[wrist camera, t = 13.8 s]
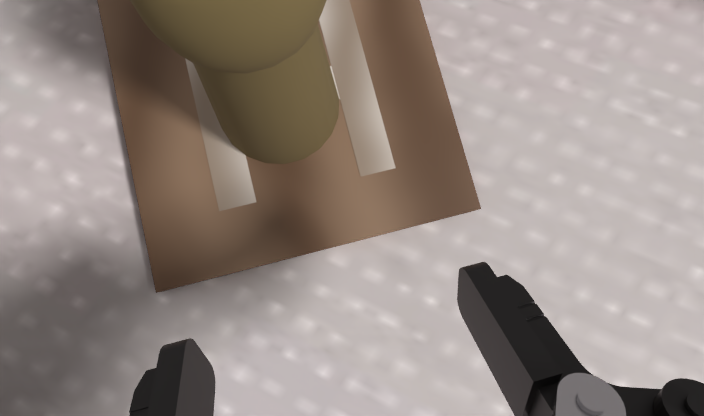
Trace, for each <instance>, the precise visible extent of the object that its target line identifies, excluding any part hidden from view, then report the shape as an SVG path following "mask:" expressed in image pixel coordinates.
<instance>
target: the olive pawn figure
mask: <svg viewBox="0 0 704 416" xmlns="http://www.w3.org/2000/svg"><path fill="white" fill-rule="evenodd" d="M326 1H327V0H130V2H131V3H132V5H133V6H134V8H135V9H136V11H137V12H138V14H139V15H140V17H141V18H142V20H143V21H144V23H145V24H146V25H147V26H148V28H149V29H150V30H151V31H152V32H153V33H154V35H155V36H156V37H157V38H158V39H160V40H161V41H162V42H164V43H165V44H166V45H167V46H169V47H170V48H171V49H173V50H174V51H175V52H176V53H178V54H179V55H180V56H182V57H184V58H185V59H187V60H189V61H191V62H192V63H193V64H194V66H195V69H196V71H197V73H198V75H199V78H200V80H201V82H202V85H203V87H204V89H205V91H206V94H207V96H208V98H209V100H210V103H211V105H212V107H213V110H214V112H215V114H216V116H217V119H218V121H219V123H220V126H221V128H222V130H223V131H224V133H225V134H226V136H227V137H228V139H229V140H230V142H231V143H232V145H233V146H235V147H236V148H237V149H239V150H240V151H241V152H242V153H244V154H245V155H246V156H248V157H250V158H253V159H256V160H258V161H261V162H264V163H274V164H287V163H291V162H295V161H298V160H302V159H305V158H306V157H308V156H309V155H311V154H312V153H314V152H316V151H317V150H319V149H320V148H321V147H322V146H323V144H324V143H325V142H326V141H327V140H328V138H329V137H330V136H331V135H332V133H333V130H334V127H335V125H336V122H337V119H338V116H339V97H338V93H337V90H336V86H335V83H334V79H333V76H332V72H331V69H330V65H329V62H328V58H327V55H326V51H325V48H324V44H323V41H322V37H321V34H320V30H319V27H318V21H319V19H320V16H321V14H322V11H323V8H324V6H325V3H326Z"/></svg>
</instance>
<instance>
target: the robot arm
mask: <svg viewBox="0 0 704 416" xmlns="http://www.w3.org/2000/svg"><path fill="white" fill-rule="evenodd" d="M457 300H458V306H459V309H460V312H461V315H462V317H463V319H464V321H465V323H466V325H467V327H468V329H469V331H470V332H471V334H472V336H473V338H474V340H475V342H476V344H477V346H478V348H479V349H480V351H481V353H482V355H483V357H484V359H485V361H486V363H487V364H488V366H489V368H490V370H491V372H492V374H493V376H494V378H495V379H496V381H497V383H498V385H499V387H500V389H501V391H502V393H503V394H504V396H505V398H506V400H507V402H508V404H509V406H510V408H511V410H512V411H513V413H514V415H515V416H704V384H703V383H701V382H698V381H695V380H690V379H674V380H671V381H669V382H668V383H666V384H665V386H664V387H663V388H662V389H647V388H631V387H620V386H615V385H612V384H609V383H606V382H605V381H603V380H602V379H600V378H598V377H596V376H593V375H592V374H591V373H590V372H588V371H587V370H586V369H585V368H584V367H583V366H582V365H581V363H580V362H579V361H578V359H577V358H576V357H575V355H574V354H573V353H572V351H571V350H570V349H569V347H568V346H567V345H566V343H565V342H564V341H563V339H562V338H561V337H560V335H559V334H558V332H557V331H556V330H555V328H554V327H553V326H552V324H551V323H550V322H549V320H548V319H547V318H546V317H545V316H544V314H543V312H542V311H541V309H540V308H539V307H538V305H537V304H535V303H534V300H533V299H532V297H531V296H530V295H529V293H528V292H527V291H526V289H525V288H524V286H522V285H521V284H520V283H518V282H517V281H515V280H514V279H512V278H511V277H510V276H508V275H504V276H500V277H496V275H495V274H494V272H493V271H492V269H491V268H490V266H489V265H488V264H487V263H486V262H481V263H477V264H473V265H470V266H466V267H462V268H460V269H459V279H458V296H457ZM214 398H215V375H214V371H213V368H212V365H211V364H210V362H209V361H208V359H207V358H206V357H205V355H204V354H203V352H202V351H201V349H200V348H199V347H198V345H197V344H196V342H195V341H194V340H193V339H191V338H190V339H186V340H182V341H179V342H175V343H171V344H167V345H164V346H163V347H162V348H161V350H160V353H159V358H158V363H157V368H154V369H151V370H147V371H146V372H145V374H144V375H143V377H142V379H141V380H140V382H139V384H138V386H137V387H136V389H135V391H134V394H133V399H132V403H131V407H130V411H129V412H130V416H213V412H214Z"/></svg>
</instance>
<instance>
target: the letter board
mask: <svg viewBox="0 0 704 416" xmlns="http://www.w3.org/2000/svg"><path fill="white" fill-rule="evenodd" d="M97 1H98V6H99V11H100V16H101V21H102V26H103V31H104V36H105V41H106V46H107V51H108V56H109V61H110V66H111V71H112V76H113V81H114V86H115V91H116V96H117V101H118V106H119V111H120V116H121V121H122V126H123V130H124V135H125V140H126V145H127V150H128V155H129V160H130V165H131V170H132V175H133V180H134V185H135V190H136V195H137V200H138V205H139V210H140V215H141V220H142V225H143V230H144V235H145V240H146V245H147V250H148V255H149V260H150V265H151V270H152V275H153V280H154V285H155V290H156V293H157V292H161V291H165V290H169V289H173V288H177V287H181V286H185V285H189V284H192V283H196V282H200V281H204V280H208V279H212V278H216V277H219V276H223V275H227V274H231V273H235V272H239V271H243V270H247V269H250V268H254V267H258V266H262V265H266V264H270V263H274V262H278V261H281V260H285V259H289V258H293V257H297V256H301V255H305V254H309V253H312V252H316V251H320V250H324V249H328V248H332V247H336V246H339V245H343V244H347V243H351V242H355V241H359V240H363V239H367V238H370V237H374V236H378V235H382V234H386V233H390V232H394V231H398V230H401V229H405V228H409V227H413V226H417V225H421V224H425V223H428V222H432V221H436V220H440V219H444V218H448V217H452V216H456V215H459V214H463V213H467V212H471V211H475V210H478V209H481V207H480V204H479V200H478V197H477V193H476V190H475V187H474V183H473V180H472V177H471V173H470V170H469V166H468V163H467V160H466V156H465V153H464V149H463V146H462V143H461V139H460V136H459V133H458V129H457V126H456V122H455V119H454V116H453V112H452V109H451V105H450V102H449V99H448V95H447V92H446V89H445V85H444V82H443V78H442V75H441V72H440V68H439V65H438V61H437V58H436V55H435V51H434V48H433V45H432V41H431V38H430V34H429V31H428V28H427V24H426V21H425V17H424V14H423V11H422V7H421V4H420V1H419V0H327V1H326V3H325V6H324V8H323V11H322V14H321V16H320V19H319V21H318V27H319V30H320V34H321V37H322V41H323V44H324V48H325V51H326V55H327V58H328V62H329V65H330V69H331V72H332V76H333V79H334V83H335V86H336V90H337V93H338V97H339V116H338V119H337V122H336V125H335V127H334V130H333V133H332V135H331V136H330V137H329V138H328V140H327V141H326V142H325V143H324V144H323V146H322V147H321V148H320V149H319V150H317V151H316V152H314V153H312V154H311V155H309V156H308V157H306V158H305V159H302V160H298V161H295V162H291V163H287V164H274V163H264V162H261V161H258V160H256V159H253V158H250V157H248V156H246V155H245V154H244V153H242V152H241V151H240V150H239V149H237V148H236V147H235V146H233V145H232V143H231V142H230V140H229V139H228V137H227V136H226V134H225V133H224V131H223V130H222V128H221V126H220V123H219V121H218V119H217V116H216V114H215V112H214V110H213V107H212V105H211V103H210V100H209V98H208V96H207V94H206V91H205V89H204V87H203V85H202V82H201V80H200V78H199V75H198V73H197V71H196V69H195V66H194V64H193V63H192V62H191V61H189V60H187V59H185V58H184V57H182V56H180V55H179V54H178V53H176V52H175V51H174V50H173V49H171V48H170V47H169V46H167V45H166V44H165V43H164V42H162V41H161V40H160V39H158V38H157V37H156V36H155V35H154V33H153V32H152V31H151V30H150V29H149V28H148V26H147V25H146V24H145V23H144V21H143V20H142V18H141V17H140V15H139V14H138V12H137V11H136V9H135V8H134V6H133V5H132V3H131V2H130V0H97Z"/></svg>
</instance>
